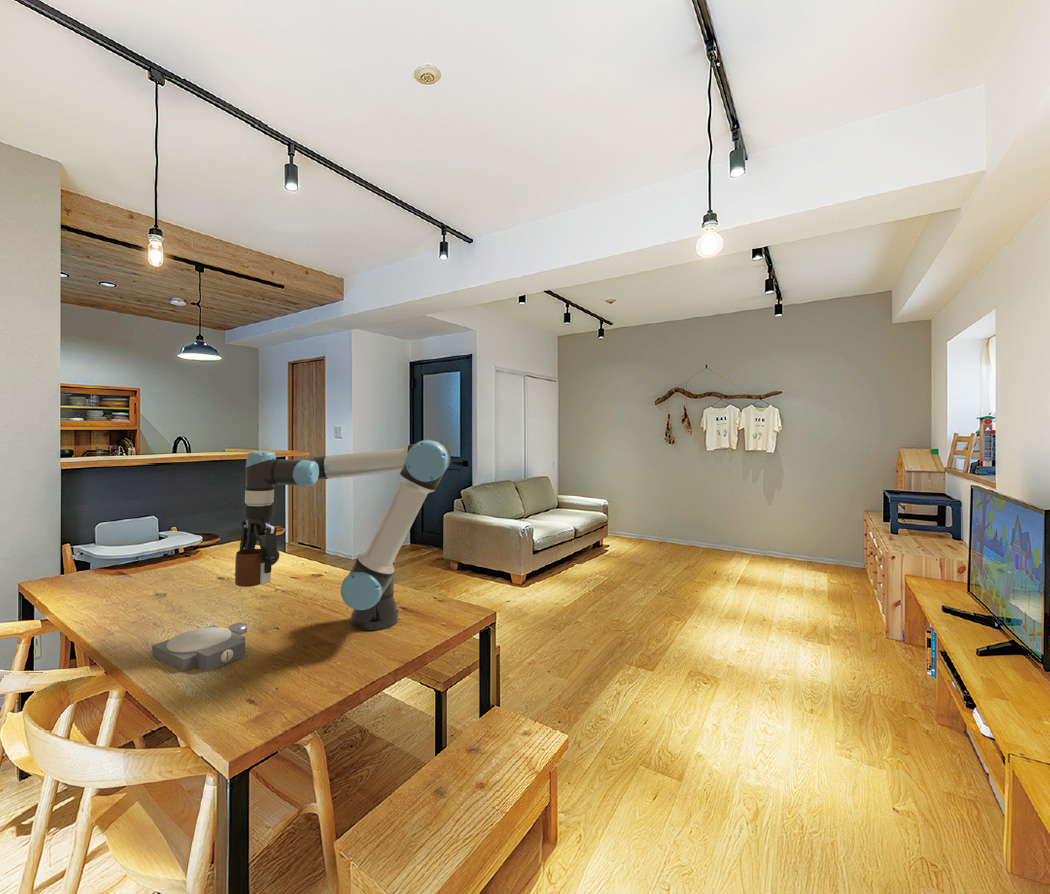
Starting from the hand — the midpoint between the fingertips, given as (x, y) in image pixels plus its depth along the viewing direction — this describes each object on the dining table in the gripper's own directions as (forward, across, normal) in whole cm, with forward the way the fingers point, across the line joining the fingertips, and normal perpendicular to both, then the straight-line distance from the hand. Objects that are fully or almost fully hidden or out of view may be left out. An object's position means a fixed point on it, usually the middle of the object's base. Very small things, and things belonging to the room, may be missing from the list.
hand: (257, 580), depth 142 cm
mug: (+1, 0, 0) cm, 1 cm away
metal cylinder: (+18, +10, 0) cm, 20 cm away
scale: (+18, +3, +13) cm, 22 cm away
